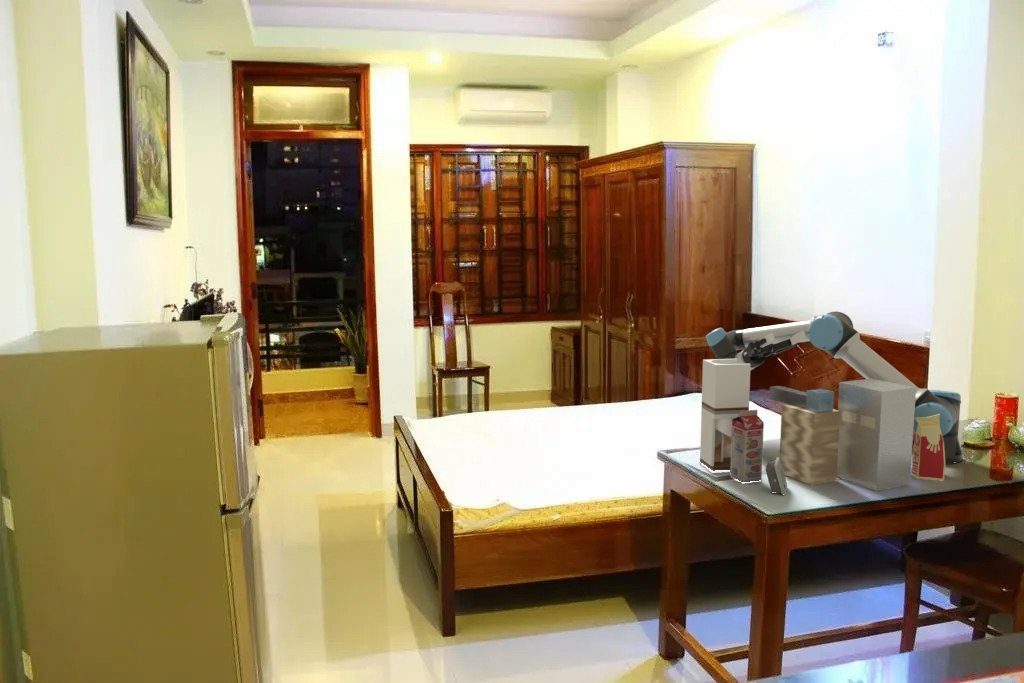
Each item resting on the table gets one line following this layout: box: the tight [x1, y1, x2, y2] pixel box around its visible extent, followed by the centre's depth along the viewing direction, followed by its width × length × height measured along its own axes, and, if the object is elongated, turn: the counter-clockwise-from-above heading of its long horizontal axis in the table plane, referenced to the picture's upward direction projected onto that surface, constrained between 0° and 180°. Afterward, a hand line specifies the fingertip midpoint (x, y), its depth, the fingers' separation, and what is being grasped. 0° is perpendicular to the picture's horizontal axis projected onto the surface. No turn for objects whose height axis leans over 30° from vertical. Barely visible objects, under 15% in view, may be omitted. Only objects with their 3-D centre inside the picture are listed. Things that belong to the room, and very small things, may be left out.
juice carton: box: [729, 409, 765, 482], centre depth 247 cm, size 7×7×22 cm
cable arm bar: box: [769, 385, 835, 413], centre depth 252 cm, size 22×6×6 cm, turn 24°
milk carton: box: [910, 414, 946, 482], centre depth 250 cm, size 9×9×20 cm
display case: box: [699, 358, 751, 471], centre depth 259 cm, size 11×11×35 cm
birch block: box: [779, 403, 840, 486], centre depth 250 cm, size 14×10×22 cm
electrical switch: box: [764, 457, 788, 495], centre depth 238 cm, size 9×5×9 cm, turn 157°
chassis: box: [837, 378, 916, 492], centre depth 245 cm, size 16×14×30 cm
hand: (788, 335), depth 270 cm, fingers open, 13 cm apart
